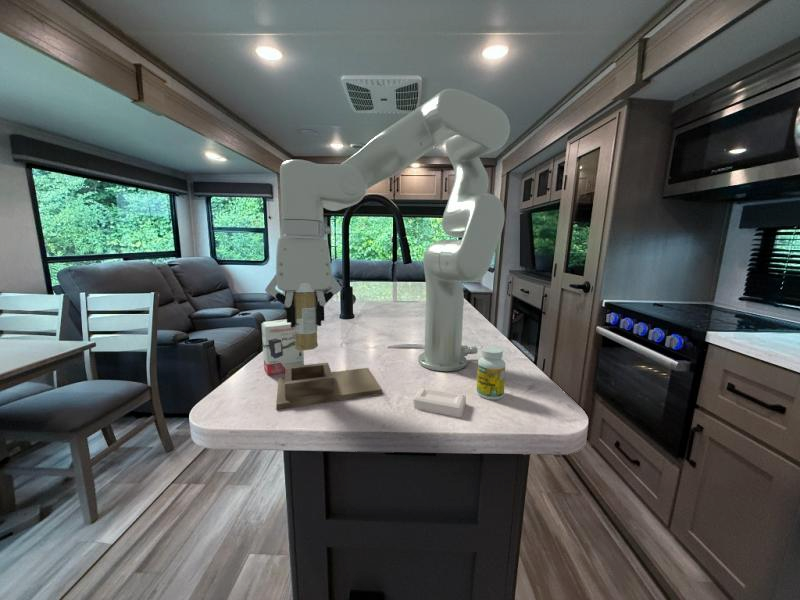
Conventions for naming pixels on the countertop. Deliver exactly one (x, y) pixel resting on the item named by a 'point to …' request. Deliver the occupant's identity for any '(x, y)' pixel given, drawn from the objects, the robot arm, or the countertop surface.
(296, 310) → the sprinkles bottle
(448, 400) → the white soap dish
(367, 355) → the countertop surface
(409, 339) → the countertop surface
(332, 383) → the caddy board
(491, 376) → the supplement bottle
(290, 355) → the ink box
